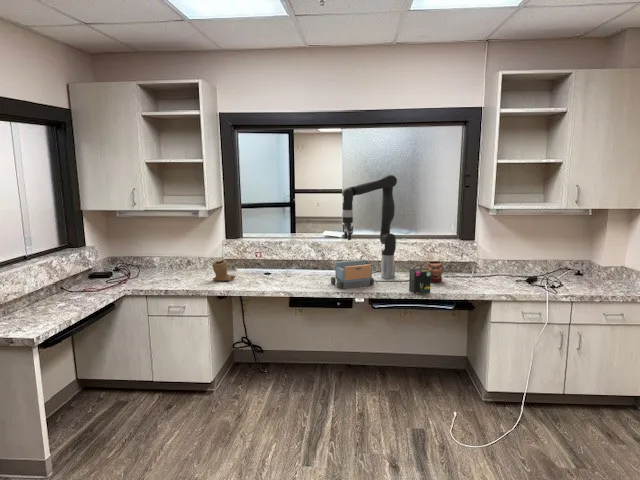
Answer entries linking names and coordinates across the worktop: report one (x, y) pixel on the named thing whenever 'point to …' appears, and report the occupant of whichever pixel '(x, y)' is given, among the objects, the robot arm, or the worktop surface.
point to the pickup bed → (354, 282)
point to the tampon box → (420, 281)
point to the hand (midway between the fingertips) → (347, 239)
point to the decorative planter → (435, 271)
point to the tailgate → (357, 272)
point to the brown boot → (222, 271)
